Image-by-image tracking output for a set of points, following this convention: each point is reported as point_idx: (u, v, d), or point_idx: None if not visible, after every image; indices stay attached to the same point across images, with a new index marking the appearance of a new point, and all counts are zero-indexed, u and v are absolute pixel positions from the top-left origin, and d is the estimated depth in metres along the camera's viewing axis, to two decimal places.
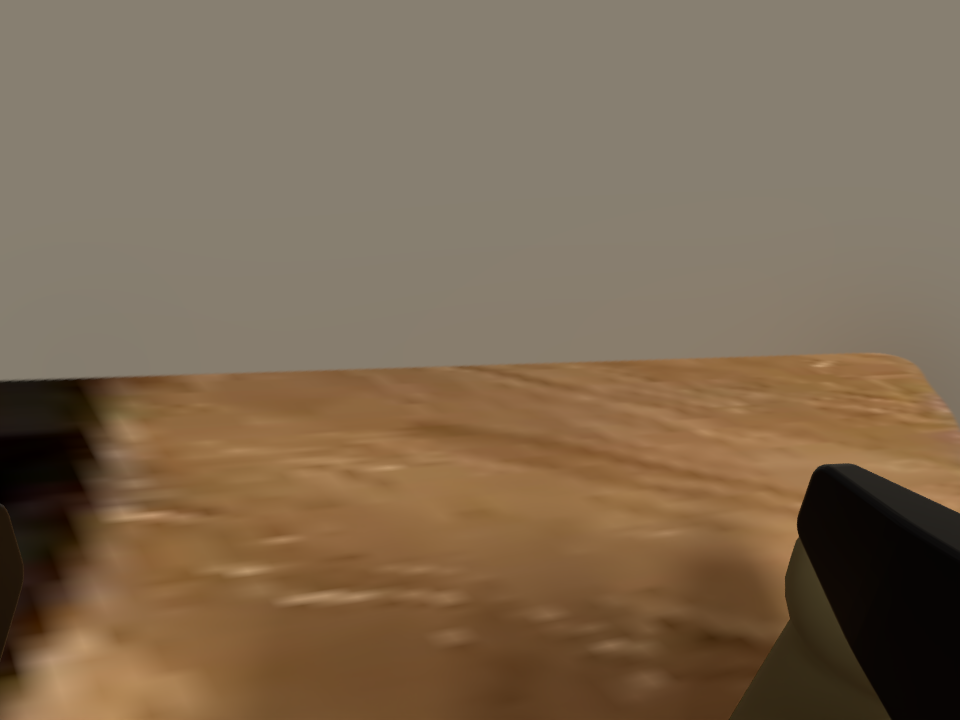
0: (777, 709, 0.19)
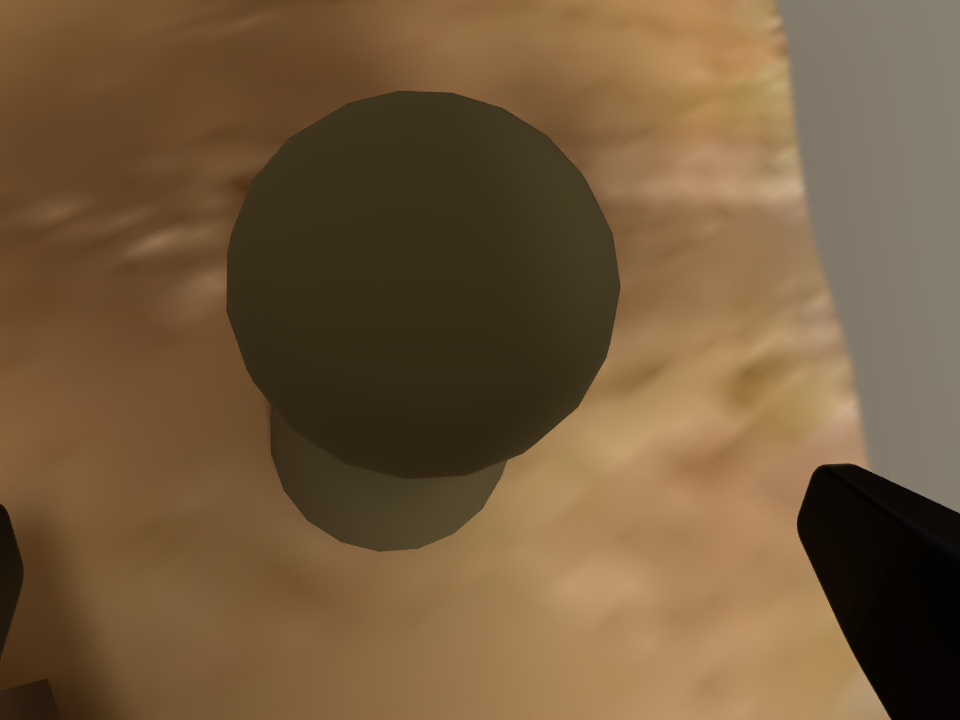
0: None
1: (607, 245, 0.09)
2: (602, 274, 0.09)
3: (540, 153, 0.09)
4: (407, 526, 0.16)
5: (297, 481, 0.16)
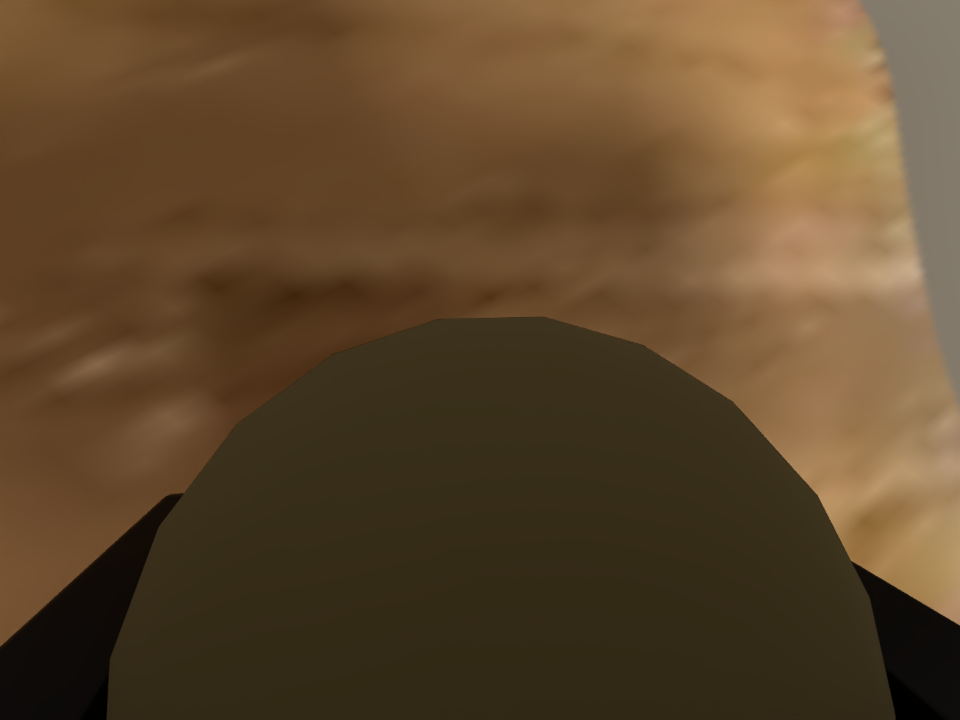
0: None
1: (883, 662, 0.05)
2: None
3: (746, 476, 0.05)
4: None
5: None
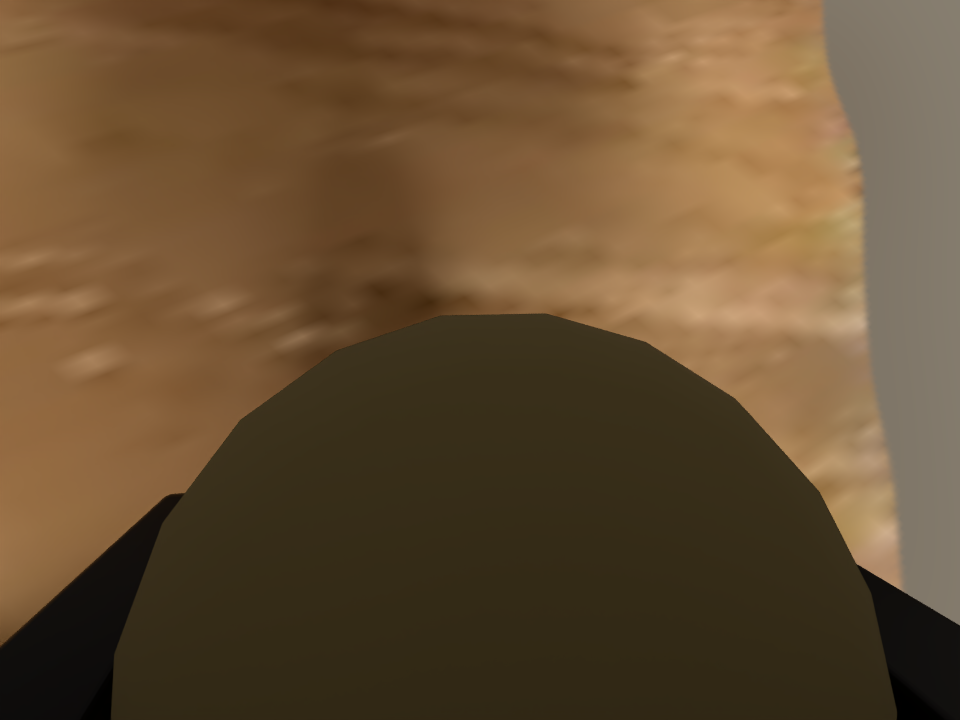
0: None
1: (884, 657, 0.05)
2: None
3: (749, 471, 0.05)
4: None
5: None
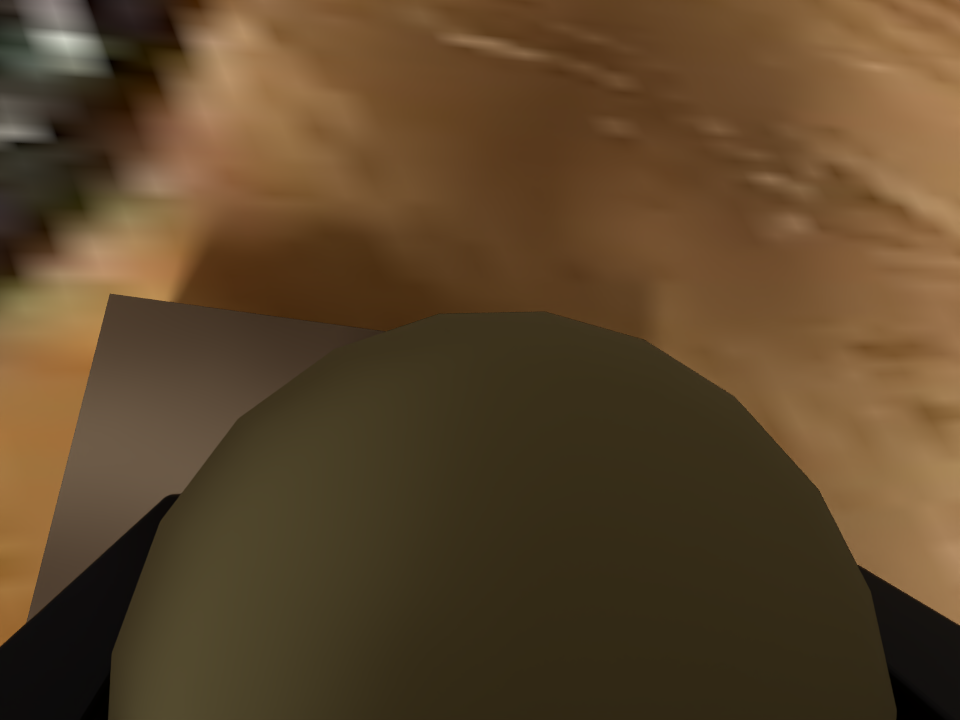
0: None
1: (884, 655, 0.05)
2: None
3: (750, 469, 0.04)
4: None
5: None
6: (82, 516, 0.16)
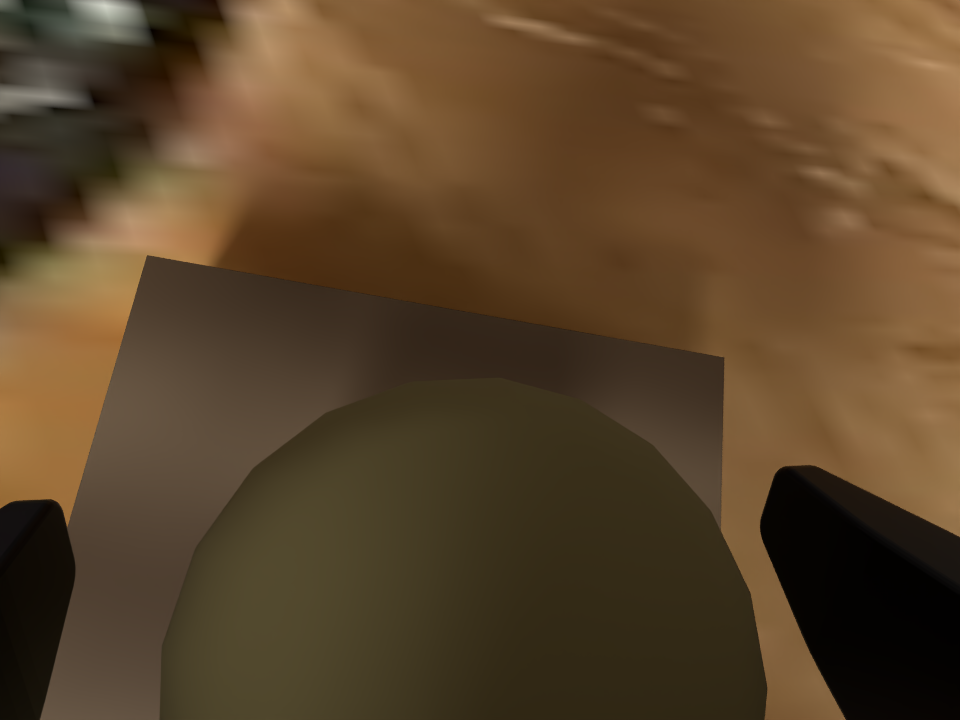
0: None
1: (757, 652, 0.06)
2: (754, 713, 0.06)
3: (651, 509, 0.06)
4: None
5: None
6: (110, 484, 0.15)
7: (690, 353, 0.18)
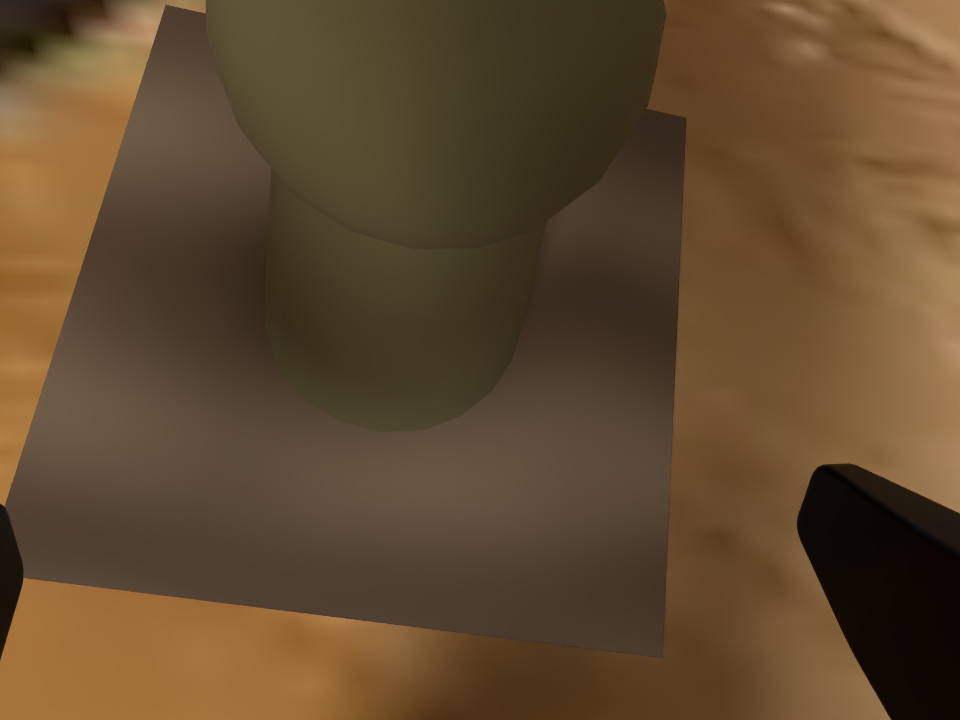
0: (283, 232, 0.11)
1: None
2: None
3: None
4: (413, 387, 0.14)
5: (292, 339, 0.14)
6: (134, 186, 0.17)
7: (655, 112, 0.20)
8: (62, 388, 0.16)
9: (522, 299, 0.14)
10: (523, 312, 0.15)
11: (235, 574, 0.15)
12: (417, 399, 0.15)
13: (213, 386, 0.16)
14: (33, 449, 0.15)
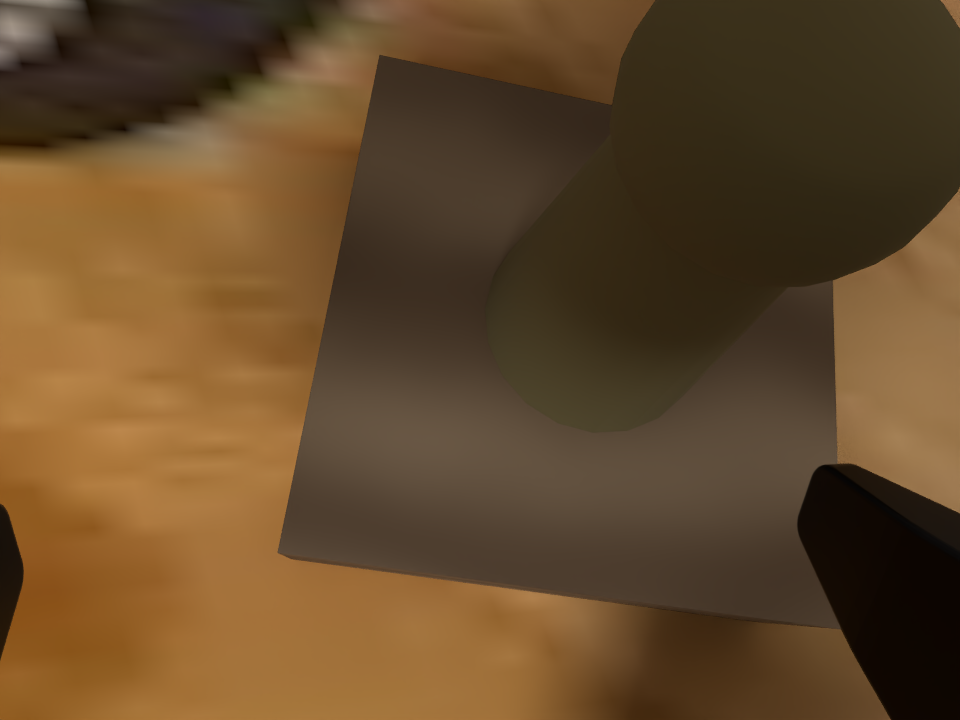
0: (586, 266, 0.14)
1: None
2: None
3: None
4: (648, 394, 0.17)
5: (543, 353, 0.17)
6: (368, 217, 0.20)
7: None
8: (326, 394, 0.18)
9: None
10: None
11: (482, 555, 0.18)
12: (643, 404, 0.17)
13: (449, 392, 0.19)
14: (308, 447, 0.18)
